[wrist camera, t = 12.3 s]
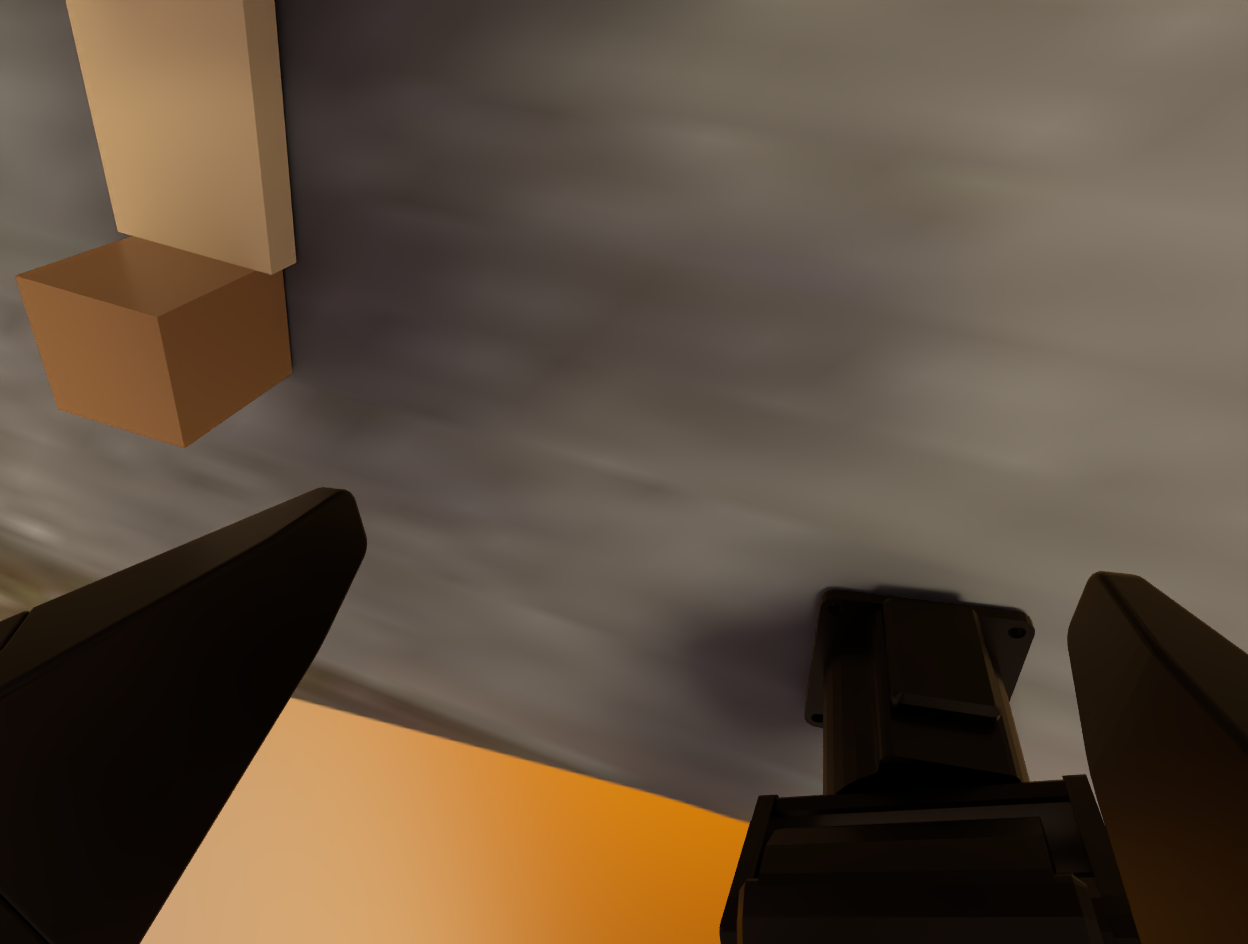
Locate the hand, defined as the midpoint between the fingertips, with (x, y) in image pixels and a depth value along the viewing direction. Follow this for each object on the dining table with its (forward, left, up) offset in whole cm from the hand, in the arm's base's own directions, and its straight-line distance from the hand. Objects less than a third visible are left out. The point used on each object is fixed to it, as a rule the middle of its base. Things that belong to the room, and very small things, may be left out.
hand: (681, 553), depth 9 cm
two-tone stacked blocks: (+4, +15, -12) cm, 20 cm away
